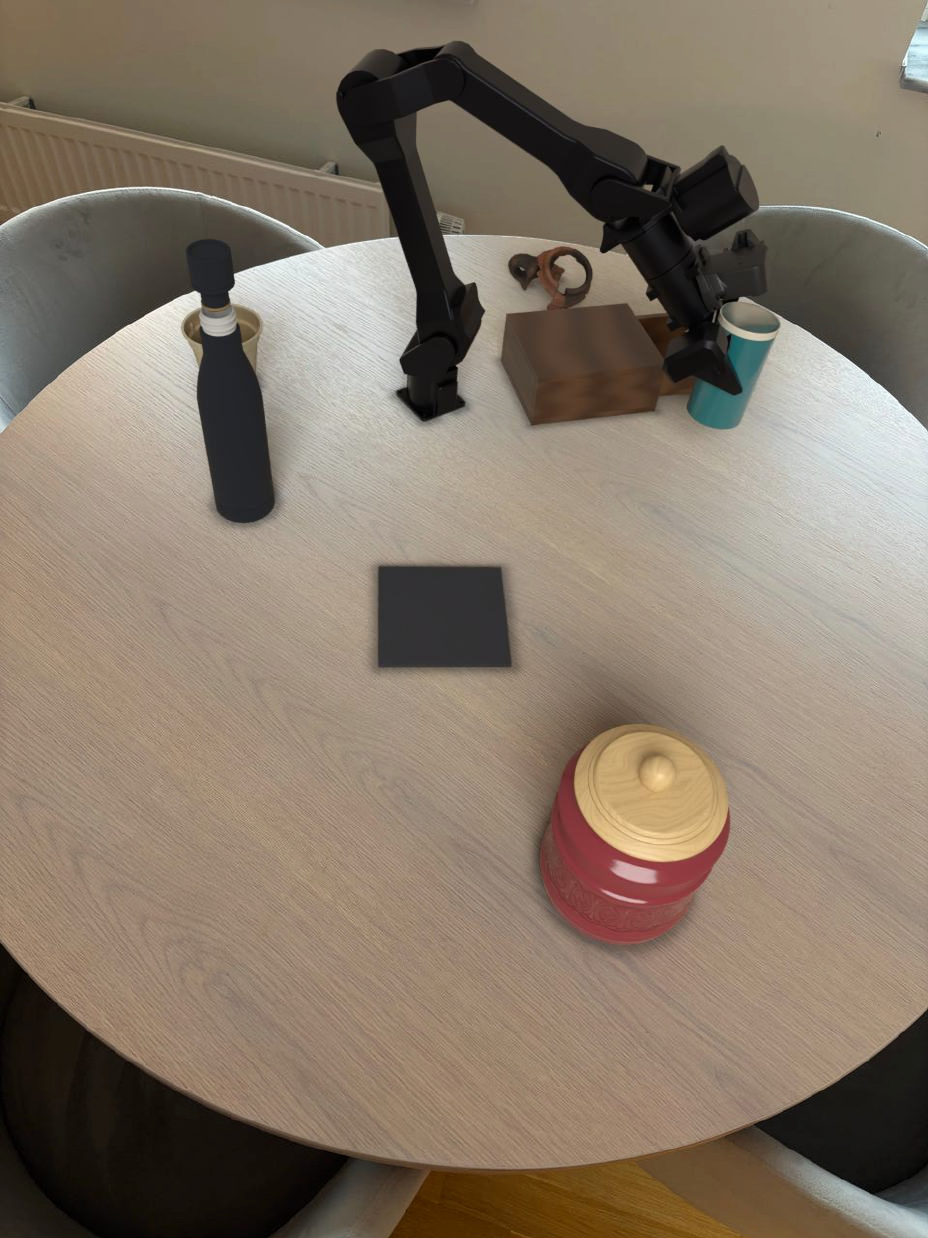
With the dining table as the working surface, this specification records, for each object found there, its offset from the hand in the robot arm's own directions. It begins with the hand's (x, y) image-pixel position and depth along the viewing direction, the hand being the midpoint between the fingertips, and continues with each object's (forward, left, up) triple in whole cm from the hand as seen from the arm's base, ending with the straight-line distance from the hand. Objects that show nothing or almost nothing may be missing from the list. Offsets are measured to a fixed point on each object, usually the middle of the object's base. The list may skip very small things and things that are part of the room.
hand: (741, 375), depth 104 cm
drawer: (-16, +10, -12) cm, 23 cm away
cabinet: (-21, -4, -13) cm, 25 cm away
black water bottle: (-23, -50, -14) cm, 57 cm away
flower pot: (-43, -42, -14) cm, 61 cm away
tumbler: (-1, -1, -5) cm, 6 cm away
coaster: (+2, -41, -13) cm, 43 cm away
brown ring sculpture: (-40, +6, -14) cm, 42 cm away
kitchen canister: (+33, -44, -14) cm, 57 cm away
